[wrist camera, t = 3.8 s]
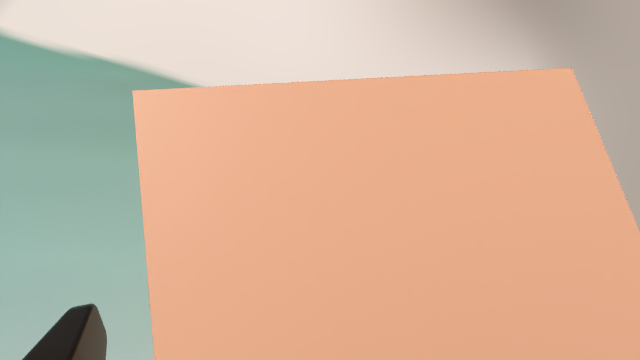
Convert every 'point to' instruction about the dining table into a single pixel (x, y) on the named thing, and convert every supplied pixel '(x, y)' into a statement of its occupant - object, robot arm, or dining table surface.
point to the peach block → (386, 221)
